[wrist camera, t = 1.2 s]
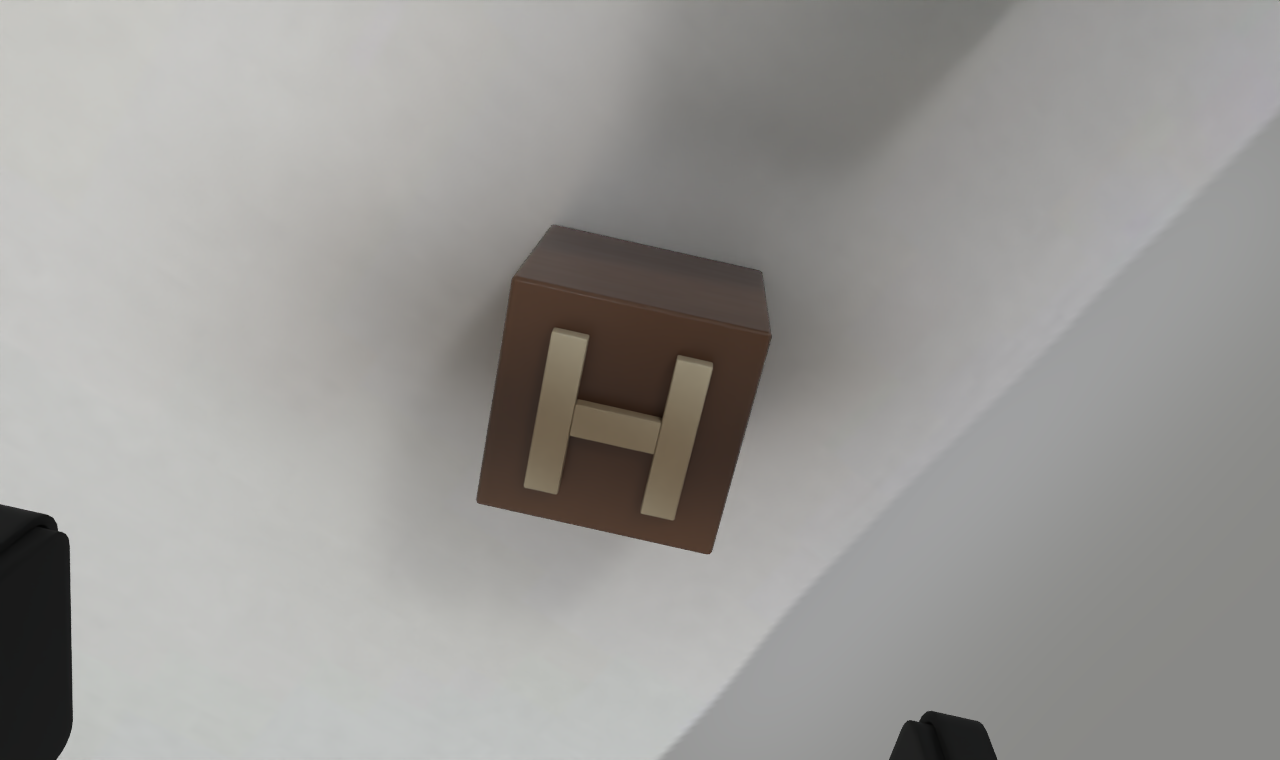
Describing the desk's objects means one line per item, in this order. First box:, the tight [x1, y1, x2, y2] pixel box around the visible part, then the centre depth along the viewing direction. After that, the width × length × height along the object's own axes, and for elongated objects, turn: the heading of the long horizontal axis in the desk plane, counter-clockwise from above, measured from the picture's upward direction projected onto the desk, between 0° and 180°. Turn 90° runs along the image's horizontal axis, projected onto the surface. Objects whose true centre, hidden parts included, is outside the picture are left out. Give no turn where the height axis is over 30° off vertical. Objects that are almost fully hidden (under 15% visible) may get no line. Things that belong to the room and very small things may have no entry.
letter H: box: [476, 225, 772, 554], centre depth 21 cm, size 5×5×5 cm
